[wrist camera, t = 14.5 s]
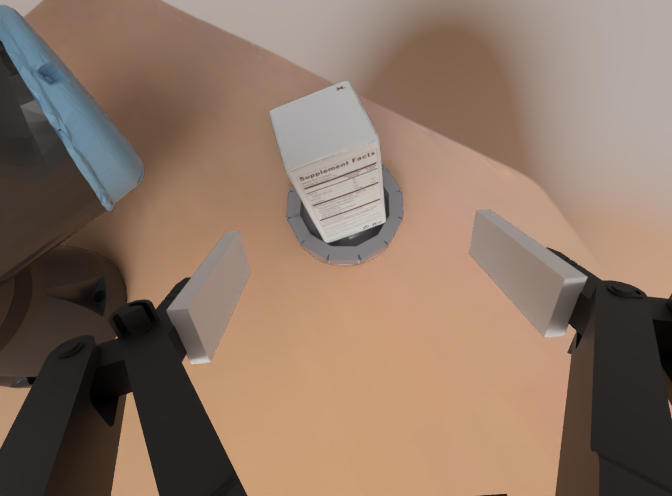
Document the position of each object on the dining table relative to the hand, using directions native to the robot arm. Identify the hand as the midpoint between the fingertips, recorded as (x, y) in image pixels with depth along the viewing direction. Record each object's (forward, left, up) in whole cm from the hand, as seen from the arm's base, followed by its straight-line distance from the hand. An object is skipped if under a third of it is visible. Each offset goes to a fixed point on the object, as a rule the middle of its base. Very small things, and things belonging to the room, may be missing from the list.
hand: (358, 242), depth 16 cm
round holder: (-5, +7, -17) cm, 19 cm away
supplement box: (-5, +7, -15) cm, 17 cm away
